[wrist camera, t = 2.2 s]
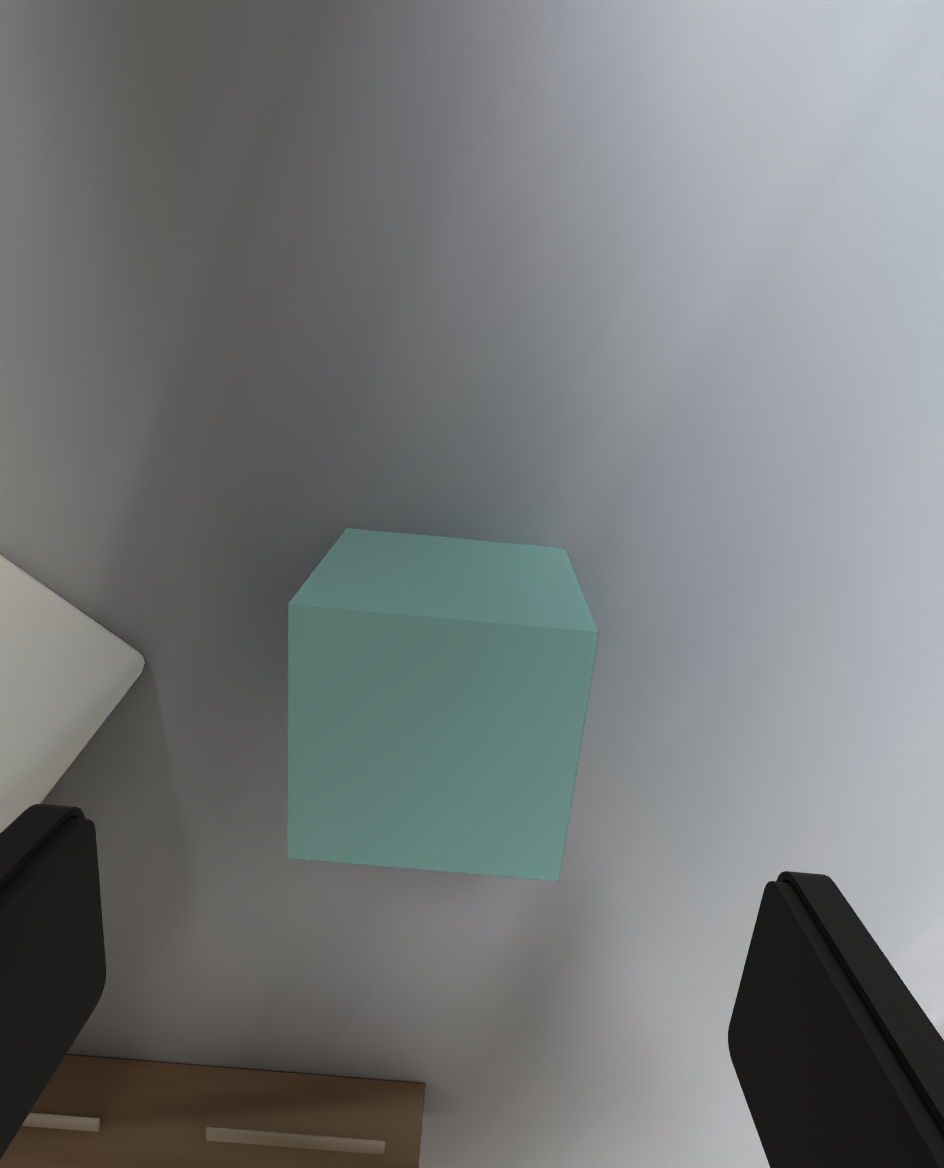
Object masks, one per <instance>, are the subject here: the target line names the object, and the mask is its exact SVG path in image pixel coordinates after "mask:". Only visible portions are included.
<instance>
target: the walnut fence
mask: <svg viewBox="0 0 944 1168" xmlns="http://www.w3.org/2000/svg"><path fill="white" fill-rule="evenodd" d="M424 1092H425V1084H421V1083H408V1082H396V1081H384V1080H371V1079H359V1078H347V1077H334V1076H322V1075H310V1074H297V1073H285V1072H272V1071H260V1070H248V1069H235V1068H223V1067H211V1066H198V1065H186V1064H174V1063H161V1062H149V1061H137V1060H124V1059H112V1058H100V1057H87V1056H75V1055H65V1057H64V1058H63V1060H62V1061H61V1063H60V1065H59V1066H58V1068H57V1069H56V1071H55V1073H54V1074H53V1076H52V1077H51V1079H50V1081H49V1082H48V1084H47V1085H46V1087H45V1089H44V1090H43V1092H42V1094H41V1095H40V1097H39V1098H38V1100H37V1102H36V1103H35V1105H34V1106H33V1108H32V1110H31V1111H30V1113H29V1114H28V1116H27V1118H26V1119H25V1121H24V1122H23V1124H22V1126H21V1127H20V1129H19V1131H18V1132H17V1134H16V1135H15V1137H14V1139H13V1140H12V1142H11V1143H10V1145H9V1147H8V1148H7V1150H6V1151H5V1153H4V1155H3V1156H2V1158H1V1159H0V1168H418V1167H419V1155H420V1142H421V1130H422V1117H423V1105H424Z"/></svg>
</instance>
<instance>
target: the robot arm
mask: <svg viewBox="0 0 944 1168" xmlns="http://www.w3.org/2000/svg"><path fill="white" fill-rule="evenodd" d="M105 980H106V962H105V949H104V936H103V923H102V910H101V897H100V884H99V871H98V858H97V845H96V832H95V826H94V823H93V822H92V821H91V820H88V819H85V817H84V813H83V812H82V810H81V809H79V808H77V807H68V806H57V805H46V804H35V805H32V806H30V807H29V808H27V809H26V810H25V811H24V812H23V813H22V814H21V815H19V816H18V817H17V818H16V819H15V820H14V821H13V822H12V823H11V824H10V825H9V826H8V827H7V828H6V829H5V830H3V831H2V832H1V833H0V1159H1V1158H2V1156H3V1155H4V1153H5V1151H6V1150H7V1148H8V1147H9V1145H10V1143H11V1142H12V1140H13V1139H14V1137H15V1135H16V1134H17V1132H18V1131H19V1129H20V1127H21V1126H22V1124H23V1122H24V1121H25V1119H26V1118H27V1116H28V1114H29V1113H30V1111H31V1110H32V1108H33V1106H34V1105H35V1103H36V1102H37V1100H38V1098H39V1097H40V1095H41V1094H42V1092H43V1090H44V1089H45V1087H46V1085H47V1084H48V1082H49V1081H50V1079H51V1077H52V1076H53V1074H54V1073H55V1071H56V1069H57V1068H58V1066H59V1065H60V1063H61V1061H62V1060H63V1058H64V1057H65V1055H66V1053H67V1052H68V1050H69V1049H70V1047H71V1045H72V1044H73V1042H74V1040H75V1039H76V1037H77V1036H78V1034H79V1032H80V1031H81V1029H82V1028H83V1026H84V1024H85V1023H86V1021H87V1020H88V1018H89V1016H90V1015H91V1013H92V1012H93V1010H94V1008H95V1007H96V1005H97V1003H98V1001H99V999H100V997H101V994H102V992H103V989H104V985H105ZM728 1044H729V1051H730V1056H731V1059H732V1063H733V1065H734V1068H735V1071H736V1074H737V1077H738V1079H739V1082H740V1085H741V1088H742V1090H743V1093H744V1096H745V1099H746V1101H747V1104H748V1107H749V1110H750V1112H751V1115H752V1118H753V1121H754V1124H755V1126H756V1129H757V1132H758V1135H759V1137H760V1140H761V1143H762V1146H763V1148H764V1151H765V1154H766V1157H767V1160H768V1162H769V1165H770V1168H944V1040H943V1039H942V1037H941V1036H940V1035H939V1033H938V1032H937V1030H936V1029H935V1027H934V1026H933V1024H932V1023H931V1022H930V1020H929V1019H928V1017H927V1016H926V1014H925V1013H924V1011H923V1010H922V1009H921V1007H920V1006H919V1004H918V1003H917V1001H916V1000H915V998H914V997H913V996H912V994H911V993H910V991H909V990H908V988H907V987H906V985H905V984H904V983H903V981H902V980H901V978H900V977H899V975H898V974H897V972H896V971H895V970H894V968H893V967H892V965H891V964H890V962H889V961H888V959H887V958H886V957H885V955H884V954H883V952H882V951H881V949H880V948H879V946H878V945H877V944H876V942H875V941H874V939H873V938H872V936H871V935H870V933H869V932H868V931H867V929H866V928H865V926H864V925H863V923H862V922H861V920H860V919H859V918H858V916H857V915H856V913H855V912H854V910H853V909H852V907H851V906H850V905H849V903H848V902H847V900H846V899H845V897H844V896H843V895H842V893H841V892H840V890H839V889H838V887H837V886H836V884H835V883H834V882H833V881H832V880H831V878H830V877H828V876H826V875H821V874H810V873H799V872H788V871H786V872H782V873H781V874H780V875H779V876H778V879H777V881H776V882H775V881H770V882H768V883H767V884H766V886H765V889H764V893H763V896H762V900H761V904H760V908H759V912H758V916H757V920H756V924H755V928H754V931H753V935H752V939H751V943H750V947H749V951H748V955H747V959H746V963H745V966H744V970H743V974H742V978H741V982H740V986H739V990H738V994H737V998H736V1001H735V1005H734V1009H733V1013H732V1017H731V1021H730V1025H729V1030H728Z"/></svg>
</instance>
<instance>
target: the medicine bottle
mask: <svg viewBox="0 0 944 1168" xmlns="http://www.w3.org/2000/svg"><path fill="white" fill-rule="evenodd" d="M144 664H145V661H144V658H143V656H142V655H141V654H140V653H139V652H138V651H137V650H136V649H134V648H133V647H131V646H130V645H128V644H127V643H126V642H124V641H123V640H121V639H120V638H118V637H117V636H116V635H114V634H113V633H111V632H110V631H108V630H107V629H106V628H104V627H103V626H101V625H100V624H98V623H97V622H96V621H94V620H93V619H91V618H90V617H88V616H87V615H86V614H84V613H83V612H81V611H80V610H78V609H77V608H76V607H74V606H73V605H71V604H70V603H68V602H67V601H66V600H64V599H63V598H61V597H60V596H58V595H57V594H56V593H54V592H53V591H51V590H50V589H48V588H47V587H46V586H44V585H43V584H41V583H40V582H38V581H37V580H36V579H34V578H33V577H31V576H30V575H28V574H27V573H26V572H24V571H23V570H21V569H20V568H18V567H17V566H16V565H14V564H13V563H11V562H10V561H8V560H7V559H6V558H4V557H3V556H1V555H0V833H1V832H2V831H3V830H5V829H6V828H7V827H8V826H9V825H10V824H11V823H12V822H13V821H14V820H15V819H16V818H17V817H18V816H19V815H21V814H22V813H23V812H24V811H25V810H26V809H27V808H29V807H30V806H32V805H35V804H41V802H42V801H43V800H44V798H45V797H46V796H47V795H48V793H49V792H50V791H51V789H52V788H53V787H54V786H55V784H56V783H57V782H58V780H59V779H60V778H61V776H62V775H63V774H64V773H65V771H66V770H67V769H68V767H69V766H70V765H71V764H72V762H73V761H74V760H75V758H76V757H77V756H78V754H79V753H80V752H81V751H82V749H83V748H84V747H85V745H86V744H87V743H88V742H89V740H90V739H91V738H92V736H93V735H94V734H95V732H96V731H97V730H98V729H99V727H100V726H101V725H102V723H103V722H104V721H105V720H106V718H107V717H108V716H109V714H110V713H111V712H112V710H113V709H114V708H115V707H116V705H117V704H118V703H119V701H120V700H121V699H122V698H123V696H124V695H125V694H126V692H127V691H128V690H129V688H130V687H131V686H132V685H133V683H134V682H135V681H136V679H137V678H138V677H139V676H140V674H141V672H142V670H143V667H144Z"/></svg>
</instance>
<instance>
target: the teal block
mask: <svg viewBox="0 0 944 1168" xmlns="http://www.w3.org/2000/svg"><path fill="white" fill-rule="evenodd" d="M598 635H599V631H598V628H597V626H596V623H595V621H594V618H593V616H592V614H591V611H590V609H589V606H588V604H587V601H586V599H585V596H584V594H583V591H582V589H581V586H580V584H579V581H578V579H577V576H576V574H575V572H574V569H573V567H572V564H571V562H570V559H569V557H568V554H567V552H566V549H565V548H559V547H548V546H538V545H527V544H516V543H505V542H494V541H483V540H473V539H462V538H451V537H440V536H429V535H418V534H407V533H397V532H386V531H375V530H364V529H353V528H346V529H345V531H344V532H343V533H342V534H341V536H340V537H339V538H338V540H337V541H336V542H335V544H334V545H333V546H332V547H331V549H330V550H329V551H328V553H327V554H326V555H325V557H324V558H323V559H322V560H321V562H320V563H319V564H318V566H317V567H316V568H315V570H314V571H313V572H312V573H311V575H310V576H309V577H308V579H307V580H306V581H305V583H304V584H303V585H302V586H301V588H300V589H299V590H298V592H297V593H296V594H295V596H294V597H293V598H292V600H291V601H290V602H289V603H288V758H287V858H291V859H302V860H314V861H326V862H337V863H349V864H361V865H372V866H384V867H396V868H407V869H419V870H431V871H442V872H454V873H466V874H477V875H489V876H501V877H512V878H524V879H536V880H547V881H558V880H559V874H560V868H561V861H562V855H563V849H564V843H565V837H566V831H567V825H568V819H569V813H570V806H571V800H572V794H573V788H574V782H575V776H576V770H577V764H578V758H579V751H580V745H581V739H582V733H583V727H584V721H585V715H586V709H587V703H588V696H589V690H590V684H591V678H592V672H593V666H594V660H595V654H596V648H597V641H598Z"/></svg>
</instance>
